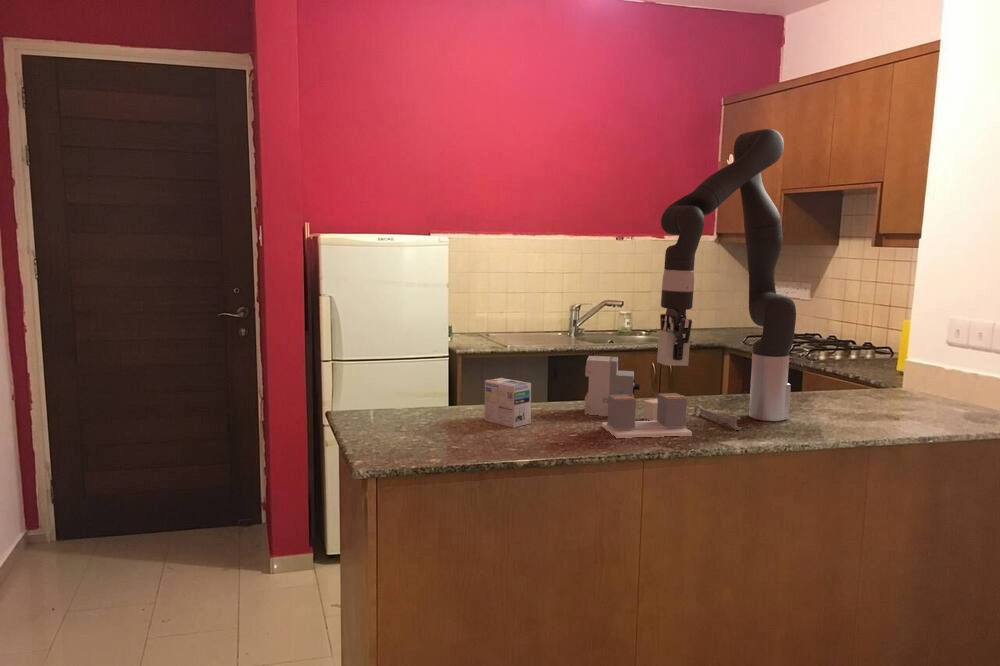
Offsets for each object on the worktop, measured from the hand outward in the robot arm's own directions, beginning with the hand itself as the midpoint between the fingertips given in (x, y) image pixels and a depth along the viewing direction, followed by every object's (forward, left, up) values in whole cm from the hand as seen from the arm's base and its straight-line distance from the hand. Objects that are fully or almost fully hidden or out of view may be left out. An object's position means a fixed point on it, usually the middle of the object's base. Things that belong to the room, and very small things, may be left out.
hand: (672, 357), depth 187 cm
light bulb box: (+39, -14, -19) cm, 45 cm away
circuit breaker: (+9, -20, -19) cm, 28 cm away
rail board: (+6, -1, -18) cm, 19 cm away
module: (0, 0, -1) cm, 1 cm away
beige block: (0, -12, -18) cm, 22 cm away
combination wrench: (-16, -7, -19) cm, 25 cm away
